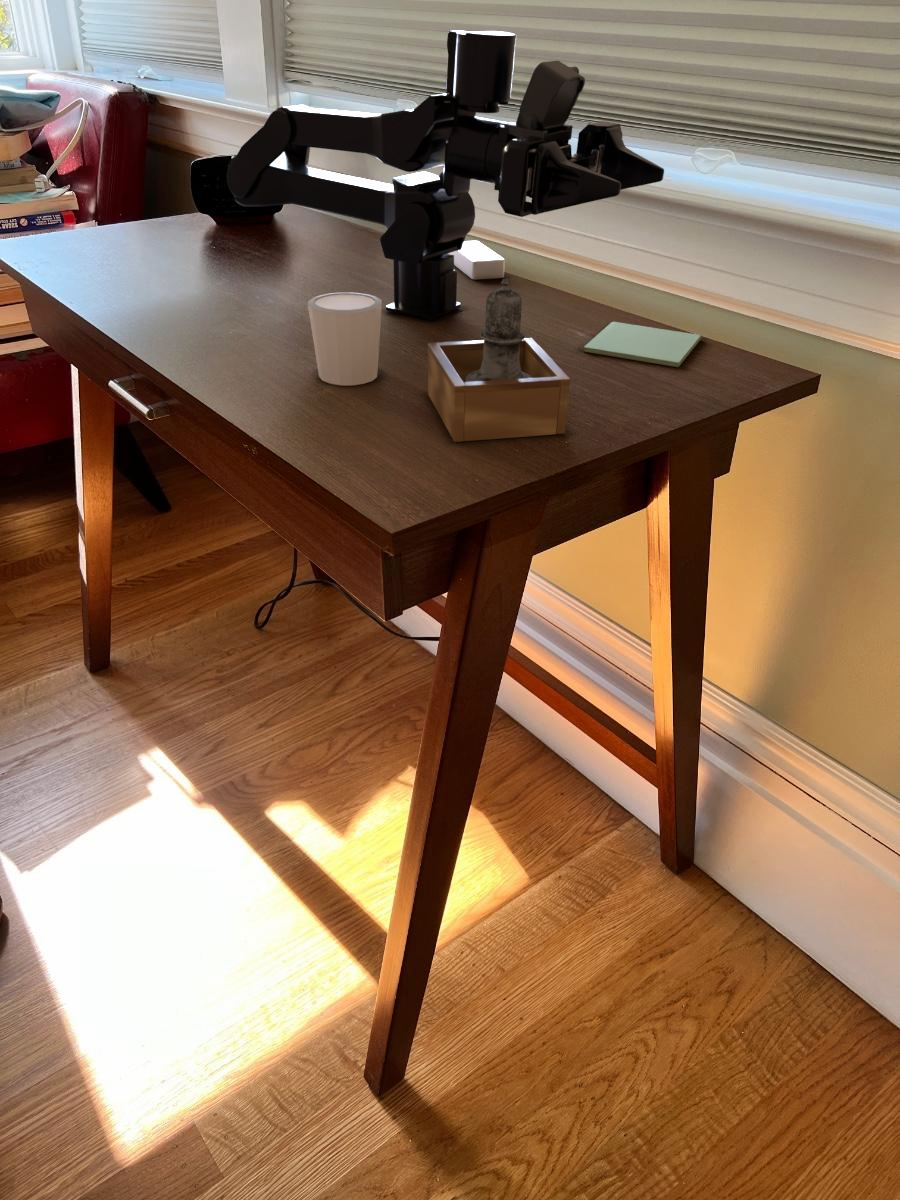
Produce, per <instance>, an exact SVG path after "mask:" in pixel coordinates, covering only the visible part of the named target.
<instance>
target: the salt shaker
mask: <svg viewBox="0 0 900 1200" xmlns="http://www.w3.org/2000/svg"><path fill="white" fill-rule="evenodd" d="M500 284H501V285H502V286H501V287H499V288H498V289H494V290H493V291H491V292H490V293H489V294H488V295H487V297H486V301H485V302H486V304H485V325H484V326H485V327H484V329H485V330H483V331H481V332H480V336H479V337H480V338H481V340H484V351H483V361H482V365H481V368H480V370H477V371H474V372H472V373H470V374H469V375H468V376H467V377H466V380H465V382H474V381H490V380H506V379H522V378H532V376H530V375H529V374H527V373H524V372H522V371H521V368H520V362H519V354H520V341H522V340H523V339H524V338H525V334H524V333H523V332H521V322H522V305H523V300H522V296H521V295H520V294H519V292H517V291H516V290H513V289H511V288H510V287H509V284H510V282H509V280H508V279H507V277H503V278H502V281H500Z"/></svg>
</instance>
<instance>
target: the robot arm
mask: <svg viewBox="0 0 900 1200" xmlns="http://www.w3.org/2000/svg"><path fill="white" fill-rule="evenodd" d="M446 37H447V38H446V51H447V52H446V53H447V66H446V67H447V68H446V84H445V85H446V87H445V93H441V94H432V95H429V96H428V97H427V98H425V99H424V100H423V101H422V102H421V103H419V104H418V105H417V106H416V107H415V108H412V109H411V108H410V109H404V110H398V111H392V112H386V113H373V112H372V113H371V112H364V111H363V112H362V111H351V110H341V109H340V110H338V109H328V108H316V107H310V106H308V105H306V104H298V105H297V104H296V105H289V106H281V107H277V108H276V109H274V110H273V111H272V112H271V113H270V114H269V116H268V118H267V119H266V120H265V123H264V125H262V126H261V128H260V129H258V130H257V131H256V132H255V133H254V134H253V135H252V136H250V138H249V139H248V140H247V141H246V142H244V143H243V144H242V146H241V147H240V149H239V150H238V152H237V154H234V155H232V156H231V159H230V161H229V162H228V167H227V172H226V183H227V187H228V189H229V191H230V192H231V194H232V195H233V197H234V201H235V202H236V203H237V204H238V205H241V206H242V207H246V208H252V207H253V208H254V207H257V208H258V207H272V206H282V205H295V206H300V207H304V208H309V209H312V210H318V211H321V212H326V213H329V214H330V213H331V214H335V215H339V216H343V217H348V218H351V219H356V220H361V221H365V222H370V223H374V224H378V225H381V226H384V227H386V229H387V230H386V231H385V232H383V234H382V235H381V236H380V237H379V243H380V246H381V249H382V253H383V256H384V259H387V260H392V263H393V264H392V265H393V266H392V267H393V268H392V271H393V302H392V303H389V304H387V305H385V310H386V311H387V312H392V313H396V314H400V315H404V316H405V315H406V316H410V317H413V318H419V319H424V320H435V319H437V318H440V317H442V316H445V315H447V314H448V313H451V312H453V311H455V310H458V309H459V308H461V302H459V301H457V294H458V293H457V290H458V282H457V281H458V272H457V270H456V269H455V265H454V255H450V254H448V253H451V252H454V251H459V250H461V249H462V246H463V243H464V241H466V240H465V239H466V236H467V235H468V234H469V233H470V232H471V231H472V228H473V226H474V224H475V220H476V207H475V203H474V200H473V198H472V196H471V194H470V193H469V192H470V189H471V180H472V181H476V182H482V183H485V184H491V185H494V186H493V188H494V191H498V196H497V202H498V204H499V205H500V207H501V208H502V211H503V212H504V213H505V214H507V215H511V216H515V217H520V218H523V217H527V216H530V215H533V216H536V215H539V214H540V215H541V214H544V213H548V212H553V211H557V210H562V209H566V208H570V207H575V206H579V205H582V204H588V203H592V202H595V201H600V200H605V199H610V198H614V197H618V196H619V195H620V194H621V191H622V190H627V189H631V188H636V187H637V188H638V187H641V186H645V185H651V184H655V183H660V182H662V181H663V180H664V175H665V168H664V167H662V166H660V165H658V164H656V163H654V162H652V161H650V160H649V159H647V158H645V157H643V156H641V155H640V154H638V153H636V152H634V151H633V150H631V149H629V148H628V147H627V146H626V145H625V143H624V140H623V131H622V127H621V123H618V122H612V121H606V120H602V121H598V122H597V121H596V122H593V123H588V124H587V125H586V126H585V127H583V129H581V130H580V131H579V132H578V135H577V137H578V138H577V146H576V153H572V145H571V144H570V143H569V142H570V140H572V135H573V124H566V123H567V121H568V119H569V117H570V115H571V113H572V110H573V109H574V107H575V106H576V103H577V101H578V99H579V96H580V94H581V93H582V91H584V88H585V84H586V78H585V77H584V76H583V75H582V74H580V69H579V67H578V66H568V65H567V64H565V63H564V62H561V61H560V60H550V61H549V60H548V61H542V62H540V63H538V65H536V66H535V68H534V70H533V72H532V74H531V77H530V79H529V82H528V85H527V87H526V89H525V92H524V95H523V98H522V100H521V102H520V106H519V110H518V111H519V112H518V115H517V118H516V122H513V121H509V122H507V121H501V120H496V119H490V118H485V117H479V116H476V114H477V113H479V114H497V113H499V112H500V107H501V106H500V105H504V106H505V105H508V106H509V102H510V101H511V97H512V87H513V75H514V66H515V65H514V64H515V54H516V45H517V44H516V43H517V34H516V33H513V32H508V31H501V30H484V31H483V30H482V31H481V30H480V31H467V30H449V31H447V36H446ZM311 148H314V149H323V150H324V149H325V150H332V151H340V152H341V151H342V152H349V153H358V154H366V155H369V156H371V157H374V158H376V159H377V160H379V161H380V162H381V163H382V164H384V165H387V166H390V167H393V168H394V169H398V170H401V171H403V172H407V173H409V174H406V175H400V176H397V177H396V176H395V177H392V178H391V182H392V184H391V183H386V182H381V181H377V180H371V179H367V178H362V177H357V176H352V175H347V174H341V173H337V172H333V171H328V170H324V169H323V170H322V169H318V168H313V167H310V166H308V165H309V161H310V154H311ZM443 166H444V167H443ZM437 167H443V170H442V171H441V172H440V173H439V174H438V175H437V174H435V173H431V172H428V171H424V170H428V169H433V168H437ZM418 171H419V172H418ZM411 172H412V173H411ZM413 172H415V173H413ZM410 173H411V174H410ZM527 197H528V198H529V199H531V201H527Z"/></svg>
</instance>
